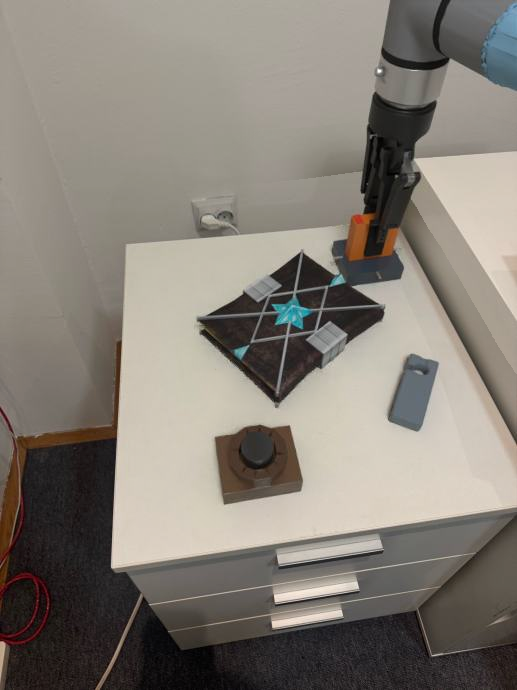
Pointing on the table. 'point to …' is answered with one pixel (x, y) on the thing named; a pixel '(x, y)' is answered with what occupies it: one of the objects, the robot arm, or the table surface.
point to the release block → (258, 482)
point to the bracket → (414, 393)
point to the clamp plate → (366, 266)
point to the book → (290, 324)
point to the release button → (257, 449)
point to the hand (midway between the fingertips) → (369, 247)
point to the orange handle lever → (365, 238)
